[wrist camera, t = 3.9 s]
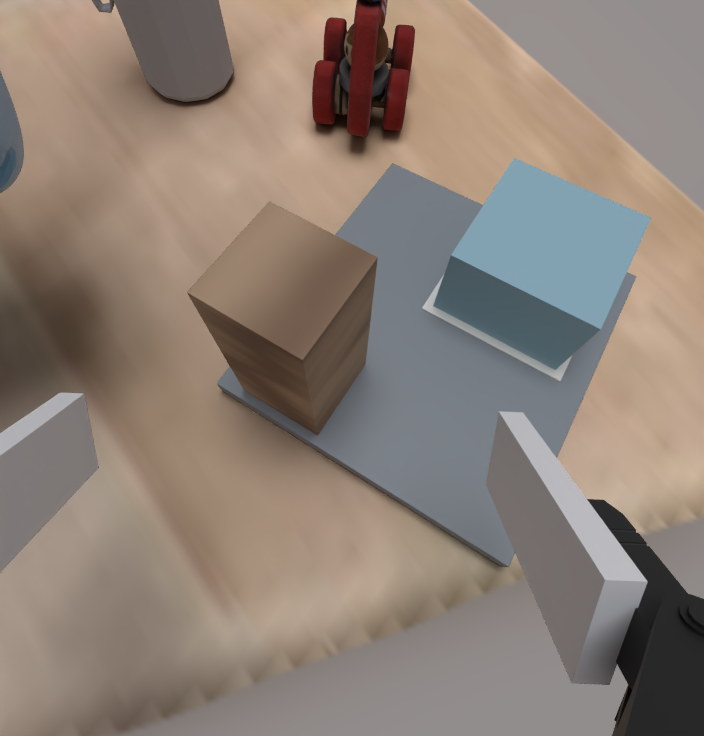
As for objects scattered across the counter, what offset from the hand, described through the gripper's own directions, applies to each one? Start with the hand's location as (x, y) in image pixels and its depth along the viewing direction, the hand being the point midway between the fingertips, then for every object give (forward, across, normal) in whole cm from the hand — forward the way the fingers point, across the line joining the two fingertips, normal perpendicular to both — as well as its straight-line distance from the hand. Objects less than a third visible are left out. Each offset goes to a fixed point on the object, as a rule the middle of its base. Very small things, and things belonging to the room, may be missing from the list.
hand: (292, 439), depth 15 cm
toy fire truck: (+30, +2, +14) cm, 33 cm away
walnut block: (+11, -1, -2) cm, 11 cm away
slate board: (+14, +7, -1) cm, 16 cm away
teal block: (+16, +12, +2) cm, 20 cm away
